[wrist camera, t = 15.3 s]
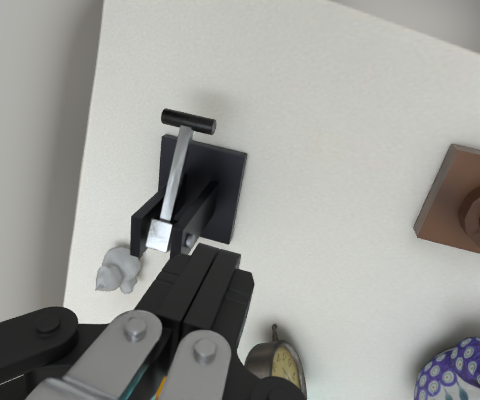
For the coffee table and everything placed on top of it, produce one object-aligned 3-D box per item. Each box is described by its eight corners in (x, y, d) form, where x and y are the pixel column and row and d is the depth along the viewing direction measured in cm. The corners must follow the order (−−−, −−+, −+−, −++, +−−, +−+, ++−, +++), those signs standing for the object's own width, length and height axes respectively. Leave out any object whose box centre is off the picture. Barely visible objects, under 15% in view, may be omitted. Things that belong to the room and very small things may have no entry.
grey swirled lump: (134, 237, 50) (102, 271, 43) (155, 275, 52) (127, 314, 45) (104, 245, 52) (68, 279, 45) (125, 281, 54) (94, 319, 47)
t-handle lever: (169, 110, 36) (161, 105, 33) (218, 121, 35) (213, 117, 33) (141, 238, 37) (131, 242, 34) (188, 252, 36) (180, 257, 34)
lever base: (165, 134, 43) (105, 171, 31) (247, 153, 41) (215, 200, 30) (159, 220, 48) (106, 278, 37) (231, 240, 47) (199, 306, 36)
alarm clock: (311, 372, 53) (303, 498, 39) (278, 377, 55) (259, 498, 41) (282, 316, 50) (261, 430, 36) (247, 323, 52) (215, 434, 38)
